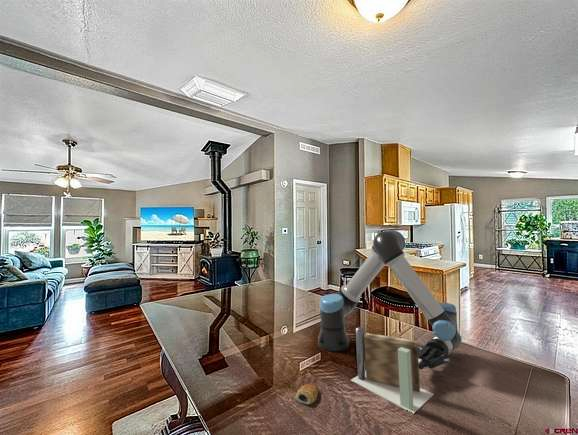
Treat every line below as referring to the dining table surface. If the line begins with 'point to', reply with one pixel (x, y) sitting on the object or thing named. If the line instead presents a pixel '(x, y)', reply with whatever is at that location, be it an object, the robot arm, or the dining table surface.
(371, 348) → the gate
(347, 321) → the dining table surface
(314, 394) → the pastry
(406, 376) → the latch post
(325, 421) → the dining table surface
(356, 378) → the mat
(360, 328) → the hinge post
